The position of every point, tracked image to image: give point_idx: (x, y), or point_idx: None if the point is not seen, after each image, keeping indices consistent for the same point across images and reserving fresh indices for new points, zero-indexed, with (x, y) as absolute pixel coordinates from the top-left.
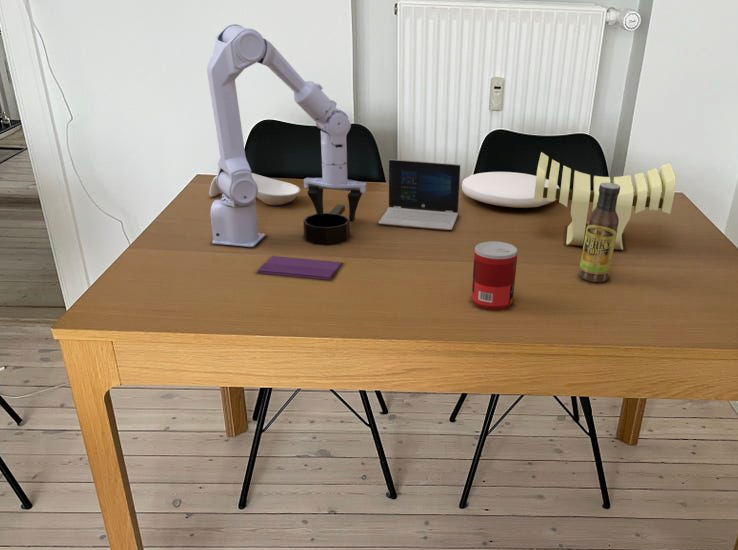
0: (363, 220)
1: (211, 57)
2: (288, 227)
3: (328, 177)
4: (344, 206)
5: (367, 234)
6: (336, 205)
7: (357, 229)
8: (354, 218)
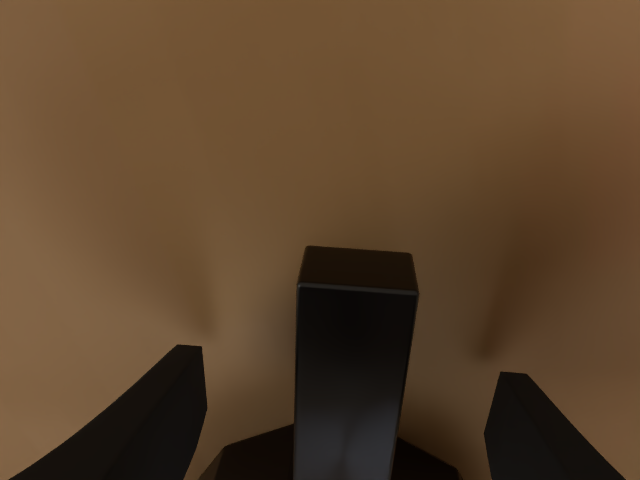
0: (606, 156)
1: None
2: (12, 414)
3: None
4: (416, 311)
5: (622, 470)
6: (304, 331)
7: None
8: (534, 385)
